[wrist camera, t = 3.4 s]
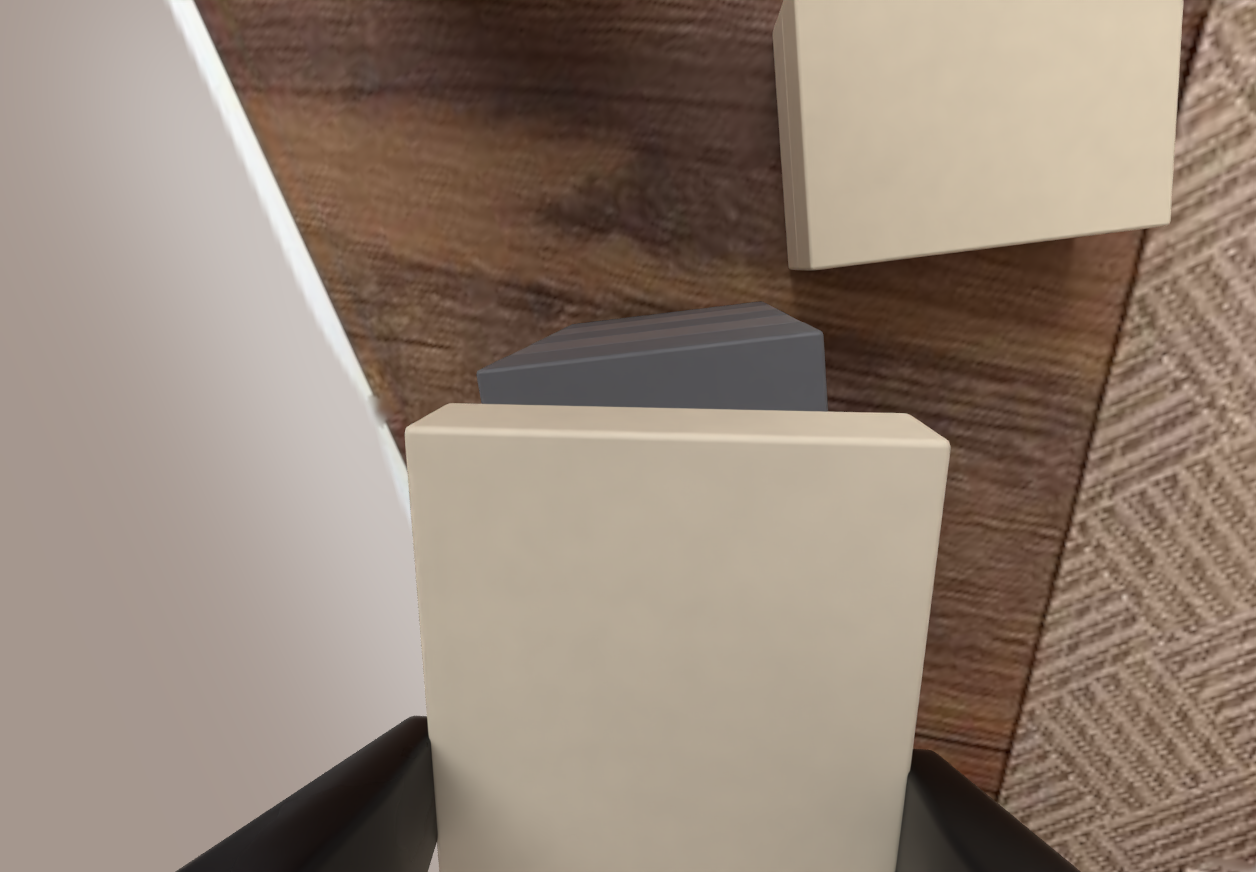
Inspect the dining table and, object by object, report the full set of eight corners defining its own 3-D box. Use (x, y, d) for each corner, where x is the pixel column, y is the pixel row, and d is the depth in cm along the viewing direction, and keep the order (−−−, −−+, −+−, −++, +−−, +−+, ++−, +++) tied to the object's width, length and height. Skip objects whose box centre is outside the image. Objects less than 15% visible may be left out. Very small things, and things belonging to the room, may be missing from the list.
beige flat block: (847, 998, 9) (870, 1106, 8) (481, 962, 9) (451, 1061, 8) (911, 412, 7) (954, 440, 6) (445, 401, 7) (400, 426, 6)
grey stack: (784, 578, 21) (851, 802, 12) (609, 591, 21) (554, 812, 13) (762, 301, 19) (823, 330, 10) (570, 324, 20) (474, 370, 11)
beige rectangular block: (1078, 233, 18) (1172, 225, 14) (788, 270, 19) (810, 270, 15) (1085, -23, 16) (1191, -101, 13) (771, 30, 17) (792, -30, 14)
